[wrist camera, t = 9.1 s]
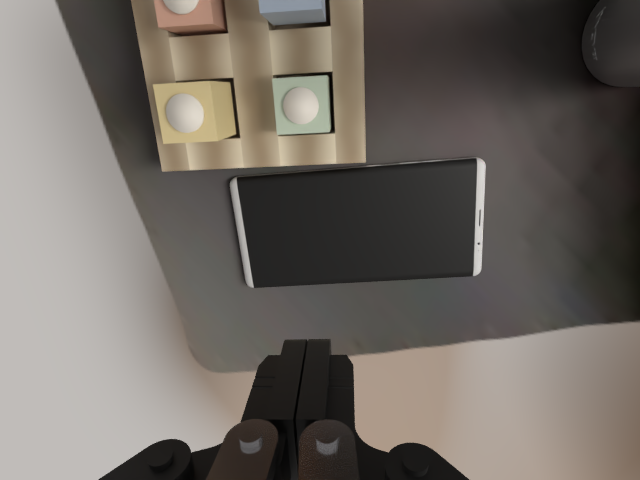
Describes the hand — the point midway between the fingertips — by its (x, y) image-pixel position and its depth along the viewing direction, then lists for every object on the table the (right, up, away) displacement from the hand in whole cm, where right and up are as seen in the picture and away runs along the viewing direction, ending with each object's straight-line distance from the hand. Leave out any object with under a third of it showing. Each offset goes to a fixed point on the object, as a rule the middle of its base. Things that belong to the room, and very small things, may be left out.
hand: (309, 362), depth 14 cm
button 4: (-1, +17, +27) cm, 32 cm away
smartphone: (+5, +6, +33) cm, 34 cm away
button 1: (-10, +26, +25) cm, 37 cm away
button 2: (-10, +16, +25) cm, 32 cm away
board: (-5, +22, +27) cm, 36 cm away
